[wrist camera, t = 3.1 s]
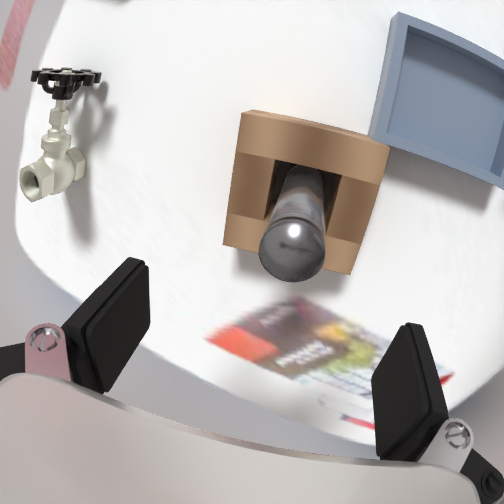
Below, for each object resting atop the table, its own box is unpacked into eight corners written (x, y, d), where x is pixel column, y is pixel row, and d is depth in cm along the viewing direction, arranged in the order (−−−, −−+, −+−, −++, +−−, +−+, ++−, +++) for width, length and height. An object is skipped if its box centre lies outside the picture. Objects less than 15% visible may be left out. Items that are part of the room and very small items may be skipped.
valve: (95, 190, 29) (116, 73, 23) (53, 216, 24) (67, 76, 18) (52, 173, 30) (66, 66, 23) (10, 194, 24) (18, 70, 18)
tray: (515, 76, 16) (531, 77, 14) (490, 180, 21) (504, 189, 19) (391, 18, 17) (398, 11, 15) (367, 135, 22) (372, 140, 20)
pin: (327, 169, 24) (333, 232, 14) (318, 204, 26) (315, 288, 15) (288, 159, 25) (264, 215, 14) (281, 195, 26) (253, 273, 16)
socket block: (379, 139, 22) (390, 148, 19) (346, 250, 27) (349, 275, 24) (253, 109, 23) (241, 113, 20) (235, 224, 28) (222, 244, 25)
